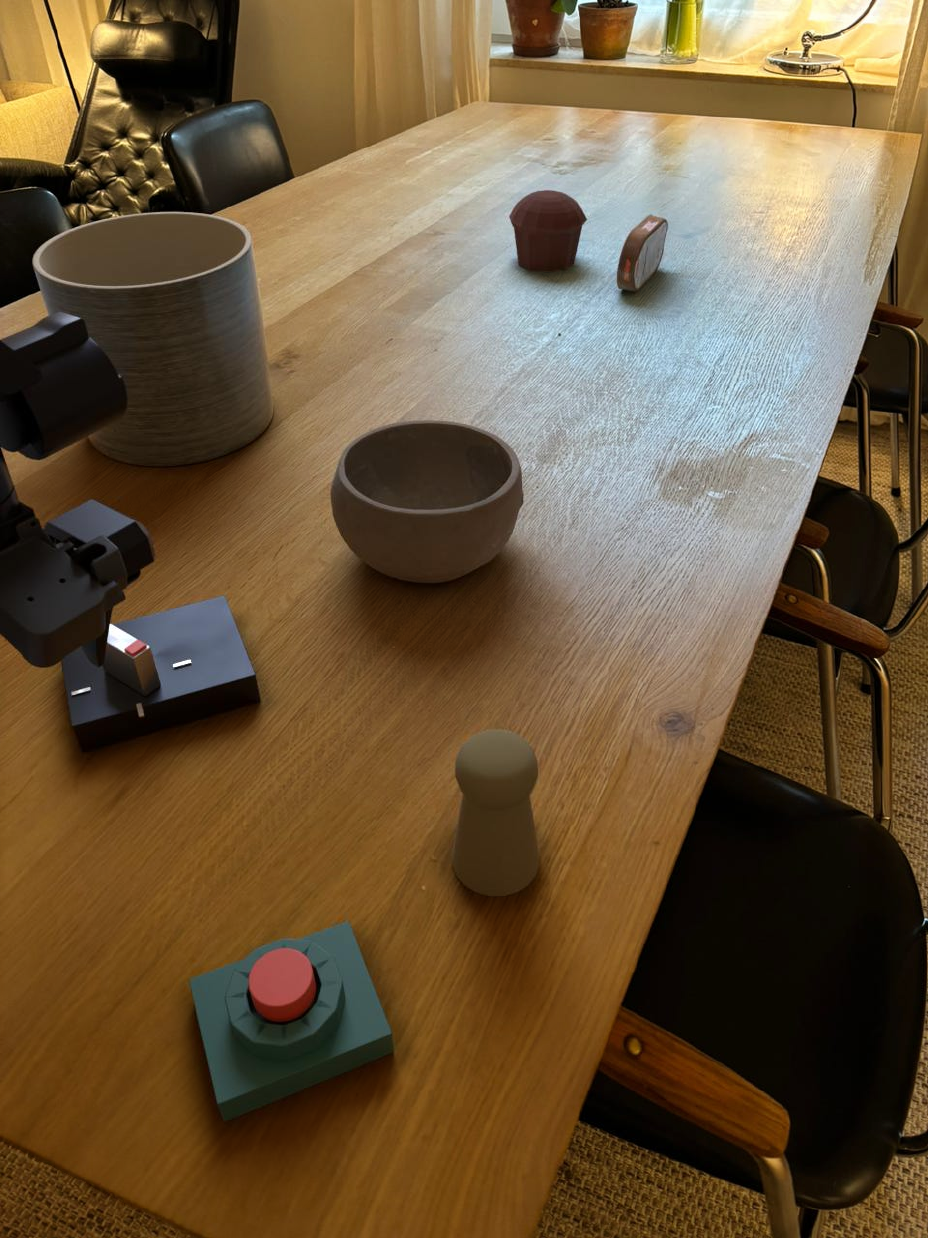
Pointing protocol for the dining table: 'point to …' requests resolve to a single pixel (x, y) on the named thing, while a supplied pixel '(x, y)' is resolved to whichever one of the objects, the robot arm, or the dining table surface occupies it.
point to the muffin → (547, 230)
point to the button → (282, 985)
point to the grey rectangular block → (130, 662)
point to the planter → (168, 330)
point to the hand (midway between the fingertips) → (37, 702)
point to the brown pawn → (496, 814)
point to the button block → (289, 1025)
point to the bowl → (427, 498)
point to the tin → (641, 253)
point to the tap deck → (164, 676)
